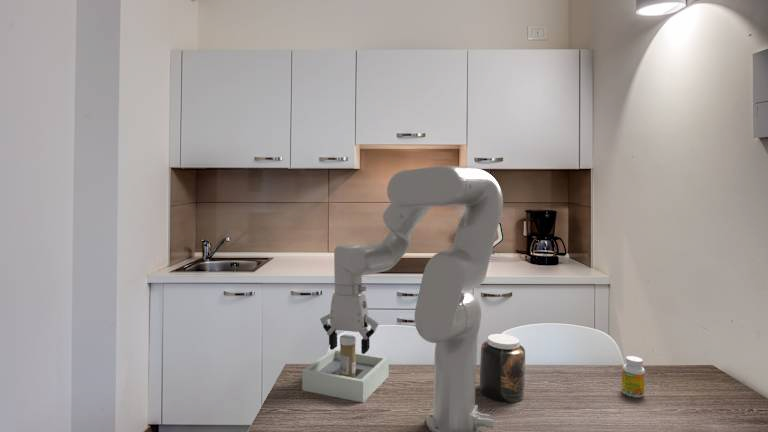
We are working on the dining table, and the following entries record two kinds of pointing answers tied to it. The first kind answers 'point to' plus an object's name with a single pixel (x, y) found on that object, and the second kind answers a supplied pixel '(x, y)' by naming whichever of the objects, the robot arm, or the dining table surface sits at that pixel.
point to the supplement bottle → (633, 377)
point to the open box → (329, 381)
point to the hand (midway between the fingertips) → (349, 350)
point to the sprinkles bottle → (347, 355)
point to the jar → (502, 368)
